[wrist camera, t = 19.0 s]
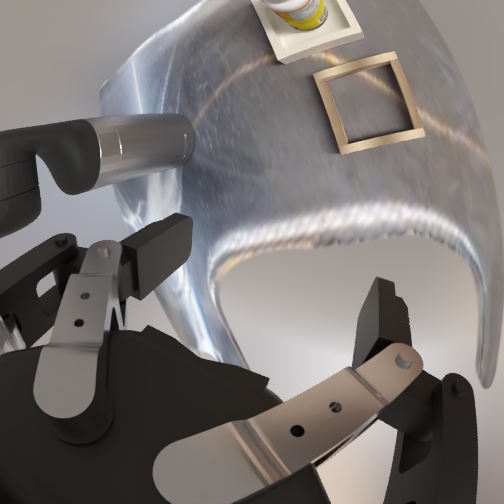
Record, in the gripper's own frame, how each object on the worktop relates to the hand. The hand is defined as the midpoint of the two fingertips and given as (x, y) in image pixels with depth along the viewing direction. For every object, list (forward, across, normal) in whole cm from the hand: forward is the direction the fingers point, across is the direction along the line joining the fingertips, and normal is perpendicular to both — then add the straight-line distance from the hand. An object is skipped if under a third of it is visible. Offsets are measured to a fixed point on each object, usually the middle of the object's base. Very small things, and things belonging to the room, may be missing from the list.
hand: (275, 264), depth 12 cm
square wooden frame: (+26, -3, -9) cm, 28 cm away
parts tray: (+27, +7, -19) cm, 34 cm away
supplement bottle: (+27, +7, -19) cm, 34 cm away
